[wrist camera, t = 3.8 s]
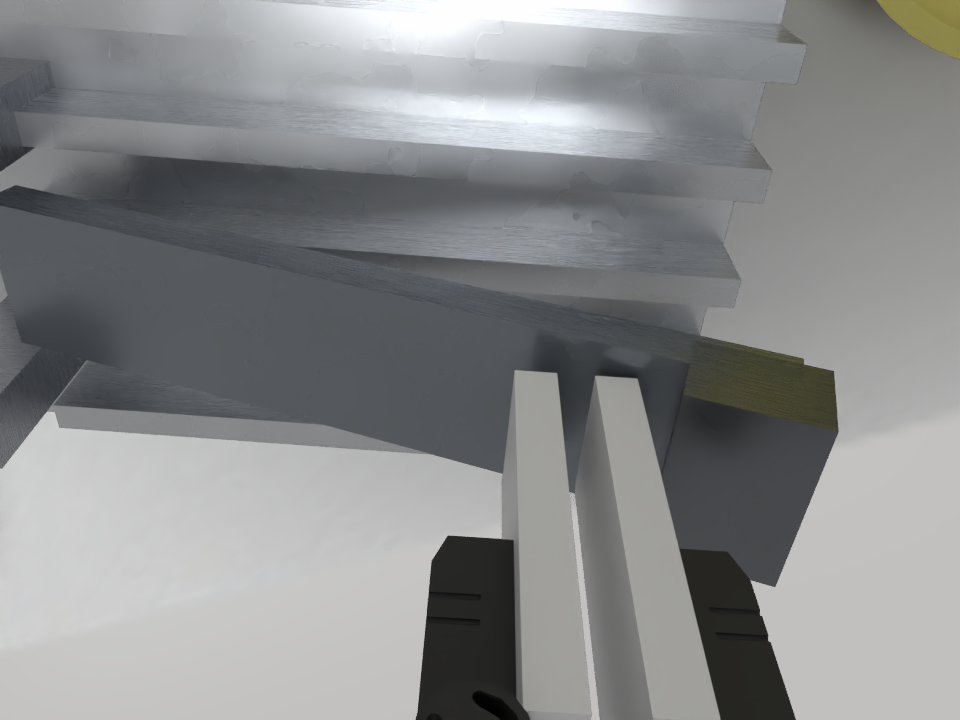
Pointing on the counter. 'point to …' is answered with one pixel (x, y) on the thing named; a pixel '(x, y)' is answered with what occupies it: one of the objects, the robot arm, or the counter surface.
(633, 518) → the robot arm
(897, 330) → the counter surface
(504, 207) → the heatsink block
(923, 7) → the plastic component
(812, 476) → the dark grey flat bar
